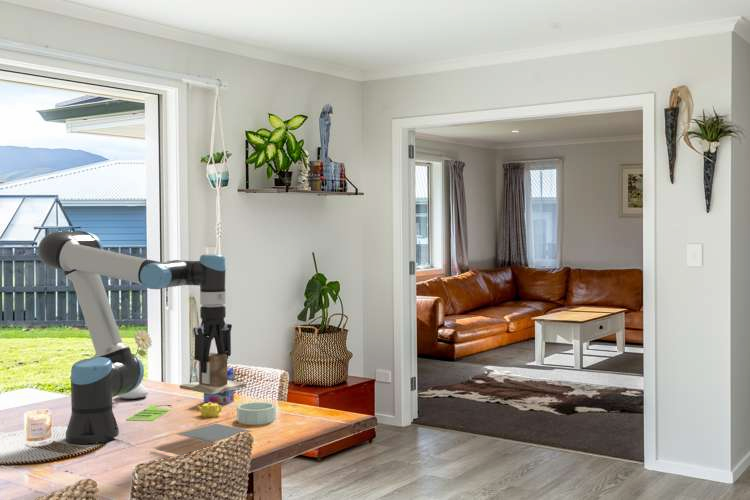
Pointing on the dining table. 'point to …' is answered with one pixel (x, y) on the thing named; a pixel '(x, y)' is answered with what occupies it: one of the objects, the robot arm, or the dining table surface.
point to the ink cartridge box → (222, 396)
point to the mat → (213, 432)
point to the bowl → (256, 413)
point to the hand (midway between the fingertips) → (213, 381)
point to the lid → (214, 377)
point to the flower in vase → (144, 343)
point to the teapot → (210, 409)
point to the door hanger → (148, 414)
